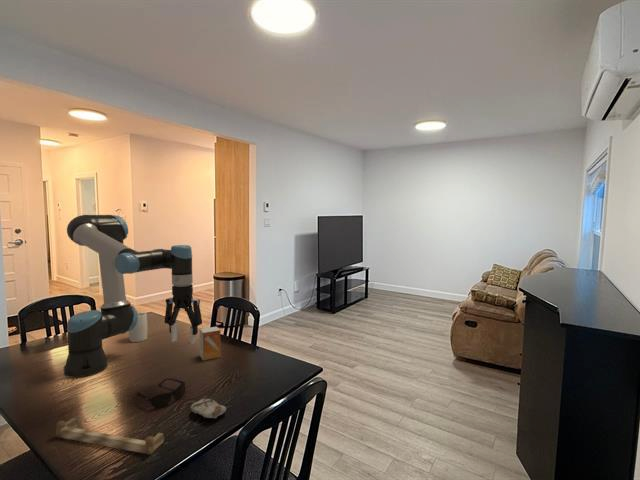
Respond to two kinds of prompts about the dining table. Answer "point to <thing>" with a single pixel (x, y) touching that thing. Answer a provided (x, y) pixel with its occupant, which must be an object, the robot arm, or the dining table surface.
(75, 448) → the dining table surface
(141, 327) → the cup
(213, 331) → the small box
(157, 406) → the sunglasses
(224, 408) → the stone
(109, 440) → the beige long bar
